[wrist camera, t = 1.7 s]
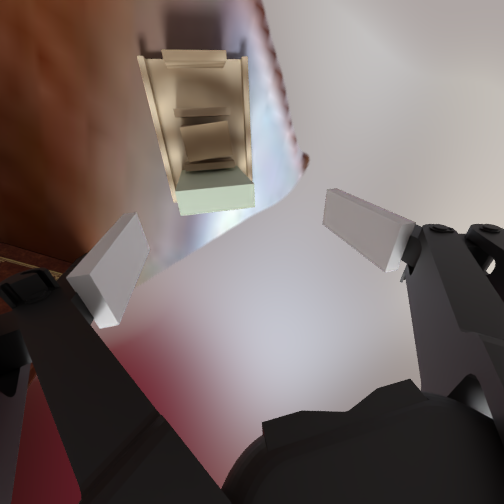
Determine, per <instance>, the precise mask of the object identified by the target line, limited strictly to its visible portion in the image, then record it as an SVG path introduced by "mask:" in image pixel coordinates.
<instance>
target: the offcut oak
mask: <svg viewBox="0 0 504 504" xmlns="http://www.w3.org/2000/svg"><path fill="white" fill-rule="evenodd" d="M180 131H181V134H182V138H183V142H184V145H185V149H186V153H187V156H188V160H189V162H193V161H199V160H205V159H211V158H216V157H222V156H228V155H233V153H232V147H231V140H230V134H229V128H228V122H227V121H220V122H213V123H206V124H200V125H193V126H187V127H180Z"/></svg>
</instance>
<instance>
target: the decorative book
mask: <svg viewBox="0 0 504 504" xmlns="http://www.w3.org/2000/svg"><path fill="white" fill-rule="evenodd" d="M71 265H72V263H69V262H66V261H62V260H59V259H55V258H52V257H49V256H45V255H42V254H38V253H35V252H32V251H28V250H25V249H21V248H18V247H15V246H11V245H8V244H5V243H1V242H0V282H1V281H3V280H5V279H6V278H8V277H10V276H12V275H15V274H17V273H19V272H22V271H25V270H28V269H33V268H46V269H48V270H49V271H50V273H51V274H52V276H53V277H54V279H55V280H57V279H58V278H59V277H60V276H61V275H62V274H63V273H64V272H66V270H67V269H68V268H69V267H71ZM10 311H13V310H12V309H11V307H10V306H9V305H8V304H7V303H6V302H5V301H4V300H3V299H2V298H1V297H0V315H1V314H4V313H7V312H10ZM36 375H37V374H36V371H35V368H34V366H33V363H31V365H30V372H29V379H28V386H27V389H28V387H29V386H30V384H31V383H32V381H33V379H34V378H35V376H36Z"/></svg>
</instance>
